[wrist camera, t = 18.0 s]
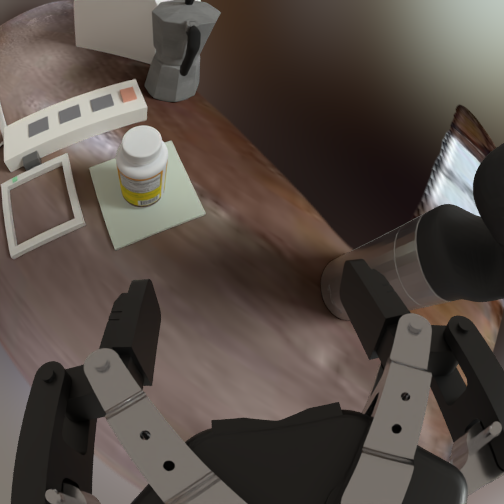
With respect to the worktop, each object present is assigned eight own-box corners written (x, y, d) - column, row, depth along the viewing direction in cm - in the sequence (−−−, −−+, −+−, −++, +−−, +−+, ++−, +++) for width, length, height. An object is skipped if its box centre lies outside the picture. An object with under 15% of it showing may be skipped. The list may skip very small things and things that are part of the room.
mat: (171, 142, 38) (171, 140, 37) (205, 214, 36) (205, 213, 36) (89, 169, 33) (89, 167, 32) (115, 250, 31) (114, 249, 31)
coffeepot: (142, 65, 40) (153, -21, 24) (193, 62, 44) (217, -19, 27) (147, 125, 37) (158, 20, 21) (208, 119, 41) (243, 23, 24)
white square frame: (68, 157, 32) (66, 152, 31) (85, 225, 31) (83, 221, 30) (3, 187, 28) (0, 183, 27) (13, 259, 26) (10, 256, 25)
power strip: (135, 91, 38) (135, 76, 35) (152, 133, 37) (153, 118, 34) (9, 138, 29) (3, 125, 26) (12, 188, 28) (3, 177, 25)
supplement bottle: (138, 164, 35) (137, 111, 25) (172, 184, 35) (181, 134, 26) (112, 196, 32) (102, 148, 23) (148, 218, 33) (148, 173, 24)
